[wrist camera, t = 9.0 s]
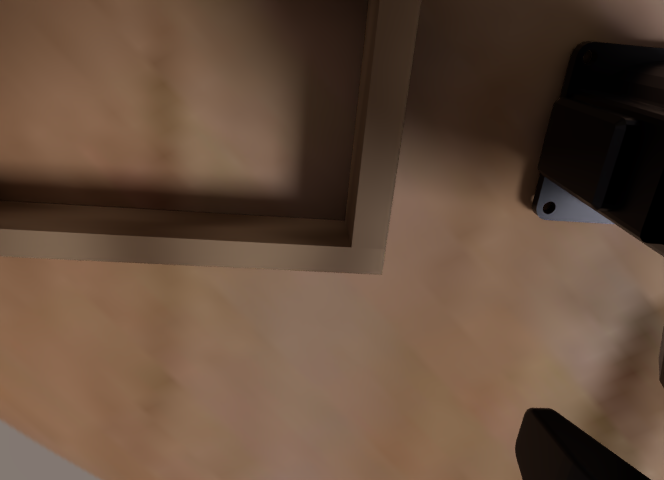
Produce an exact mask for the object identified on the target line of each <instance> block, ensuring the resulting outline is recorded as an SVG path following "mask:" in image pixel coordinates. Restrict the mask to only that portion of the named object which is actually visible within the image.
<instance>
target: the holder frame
mask: <svg viewBox="0 0 664 480" xmlns="http://www.w3.org/2000/svg"><path fill="white" fill-rule="evenodd" d="M420 7H421V0H368V9H367V19H366V28H365V37H364V47H363V56H362V65H361V75H360V84H359V93H358V103H357V112H356V121H355V131H354V140H353V149H352V159H351V168H350V177H349V187H348V196H347V205H346V215H345V221H343V220H326V219H309V218H291V217H274V216H257V215H240V214H222V213H205V212H188V211H171V210H153V209H136V208H119V207H102V206H84V205H67V204H50V203H33V202H15V201H0V256H2V257H22V258H43V259H64V260H85V261H106V262H127V263H148V264H169V265H189V266H210V267H231V268H252V269H273V270H294V271H315V272H336V273H356V274H377V275H382V270H383V263H384V257H385V250H386V243H387V236H388V229H389V222H390V215H391V208H392V201H393V194H394V187H395V180H396V173H397V166H398V160H399V153H400V146H401V139H402V132H403V125H404V118H405V111H406V104H407V97H408V90H409V83H410V76H411V69H412V63H413V56H414V49H415V42H416V35H417V28H418V21H419V14H420Z"/></svg>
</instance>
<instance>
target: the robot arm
mask: <svg viewBox="0 0 664 480" xmlns="http://www.w3.org/2000/svg"><path fill="white" fill-rule="evenodd" d="M588 50H590V51H591V53H592V55H591V59H590V61H589V62H587V63H586V64H585V63H584V62H583V56H584V54H585V53H586V52H587V51H588ZM538 170H539V171H540V176H539V180H538V184H537V188H536V192H535V195H534V199H533V203H532V209H533V212H534V213H535V214H536V215H538V216H539V217H540V218H541V219H544V220H555V221H572V222H588V223H605V224H616V225H617V226H619V227H620V228H622V229H623V230H625V231H626V232H628V233H629V234H631V235H632V236H634V237H635V238H637V239H638V240H639V241H641V242H642V243H644V244H645V245H647V246H648V247H650V248H651V249H653V250H654V251H656V252H657V253H659V254H660V255H662V256H663V257H664V48H653V47H643V46H633V45H622V44H612V43H602V42H591V41H586V42H582V43H580V44H578V45H577V46H576V47H575V48H574V49H573V51H572V54H571V56H570V60H569V64H568V68H567V72H566V76H565V80H564V83H563V87H562V91H561V95H560V98H559V99H558V100H557V101H556V102H555V103H554V105H553V109H552V113H551V117H550V121H549V125H548V129H547V133H546V136H545V140H544V144H543V148H542V152H541V156H540V160H539V164H538ZM547 202H551V205H550V207H549V208H548V209H547V210H543V206H544V204H546V203H547ZM659 380H660V382H661V384H662V386H663V388H664V328H663V334H662V341H661V347H660V353H659ZM515 453H516V458H517V462H518V465H519V469H520V472H521V475H522V479H523V480H651V479H649V478H648V477H646V476H645V475H644V474H642V473H641V472H639V471H638V470H637V469H635V468H634V467H633V466H631V465H630V464H628V463H627V462H626V461H624V460H623V459H621V458H620V457H619V456H617V455H616V454H614V453H613V452H612V451H610V450H609V449H608V448H606V447H605V446H603V445H602V444H601V443H599V442H598V441H596V440H595V439H594V438H592V437H591V436H589V435H588V434H587V433H585V432H584V431H582V430H581V429H580V428H578V427H577V426H576V425H574V424H573V423H571V422H570V421H569V420H567V419H566V418H564V417H563V416H562V415H560V414H559V413H557V412H556V411H554V410H553V409H550V408H530V409H528V410H527V411H526V412H525V414H524V417H523V421H522V424H521V427H520V430H519V434H518V437H517V440H516V445H515Z"/></svg>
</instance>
